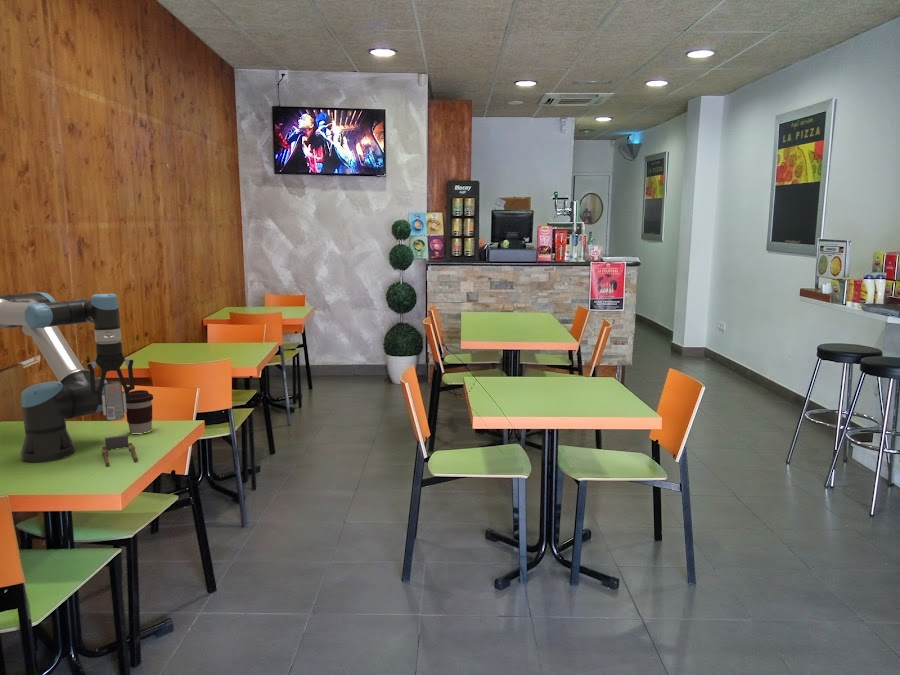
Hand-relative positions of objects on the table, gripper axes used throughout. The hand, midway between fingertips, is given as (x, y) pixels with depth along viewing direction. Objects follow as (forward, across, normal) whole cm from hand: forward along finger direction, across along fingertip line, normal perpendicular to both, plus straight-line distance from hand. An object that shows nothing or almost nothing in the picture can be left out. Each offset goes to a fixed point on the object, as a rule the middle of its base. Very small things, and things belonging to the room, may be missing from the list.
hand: (115, 412), depth 226 cm
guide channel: (+13, 0, -4) cm, 14 cm away
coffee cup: (+14, +9, +23) cm, 28 cm away
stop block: (+13, 0, +6) cm, 15 cm away
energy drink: (+2, 0, 0) cm, 2 cm away
